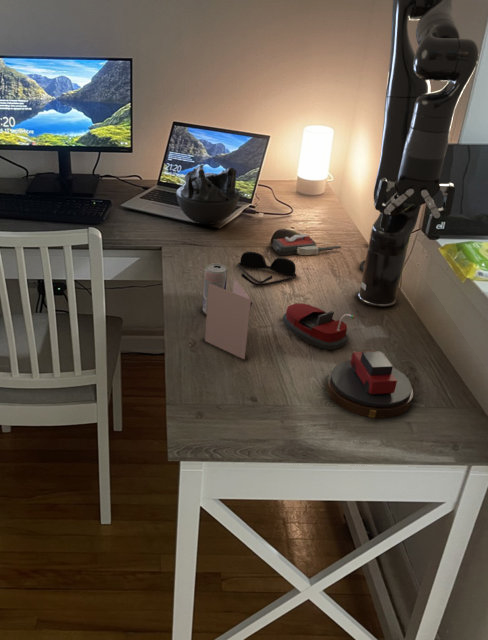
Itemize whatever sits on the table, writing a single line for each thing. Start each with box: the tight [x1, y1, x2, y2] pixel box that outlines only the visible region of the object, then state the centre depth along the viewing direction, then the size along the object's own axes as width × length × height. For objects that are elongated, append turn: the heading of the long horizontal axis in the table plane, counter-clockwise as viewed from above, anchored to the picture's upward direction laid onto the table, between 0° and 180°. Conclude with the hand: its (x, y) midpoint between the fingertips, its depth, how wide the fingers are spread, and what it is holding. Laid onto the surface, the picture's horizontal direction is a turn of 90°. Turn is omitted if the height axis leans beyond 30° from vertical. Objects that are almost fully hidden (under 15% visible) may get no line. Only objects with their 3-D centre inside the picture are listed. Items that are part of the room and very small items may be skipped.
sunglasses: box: [237, 251, 298, 287], centre depth 185 cm, size 17×14×5 cm
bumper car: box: [282, 302, 356, 351], centre depth 159 cm, size 10×20×10 cm, turn 32°
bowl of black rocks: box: [176, 164, 240, 225], centre depth 217 cm, size 20×20×19 cm
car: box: [331, 350, 413, 407], centre depth 138 cm, size 16×16×6 cm
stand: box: [326, 370, 414, 419], centre depth 141 cm, size 17×17×2 cm
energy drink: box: [202, 263, 228, 315], centre depth 167 cm, size 5×5×12 cm
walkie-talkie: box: [272, 233, 342, 256], centre depth 203 cm, size 9×4×20 cm
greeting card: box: [204, 276, 253, 360], centre depth 152 cm, size 11×7×15 cm, turn 12°
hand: (406, 232), depth 138 cm, fingers open, 8 cm apart
